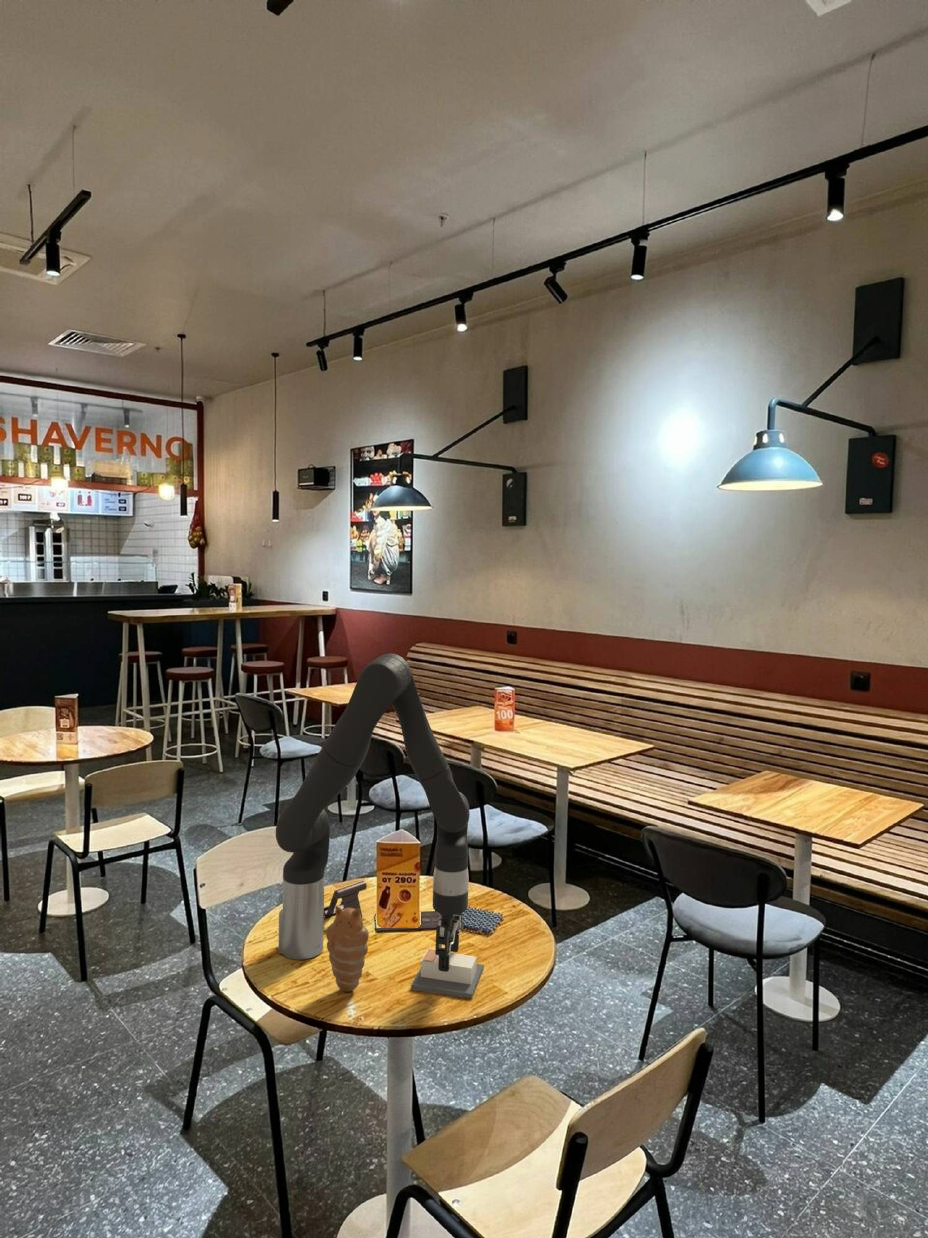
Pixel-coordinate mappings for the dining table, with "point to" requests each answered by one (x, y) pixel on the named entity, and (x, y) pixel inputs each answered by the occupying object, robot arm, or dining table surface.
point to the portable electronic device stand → (346, 898)
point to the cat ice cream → (347, 947)
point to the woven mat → (480, 921)
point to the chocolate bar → (427, 923)
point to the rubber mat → (447, 985)
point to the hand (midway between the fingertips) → (448, 960)
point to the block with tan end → (459, 967)
